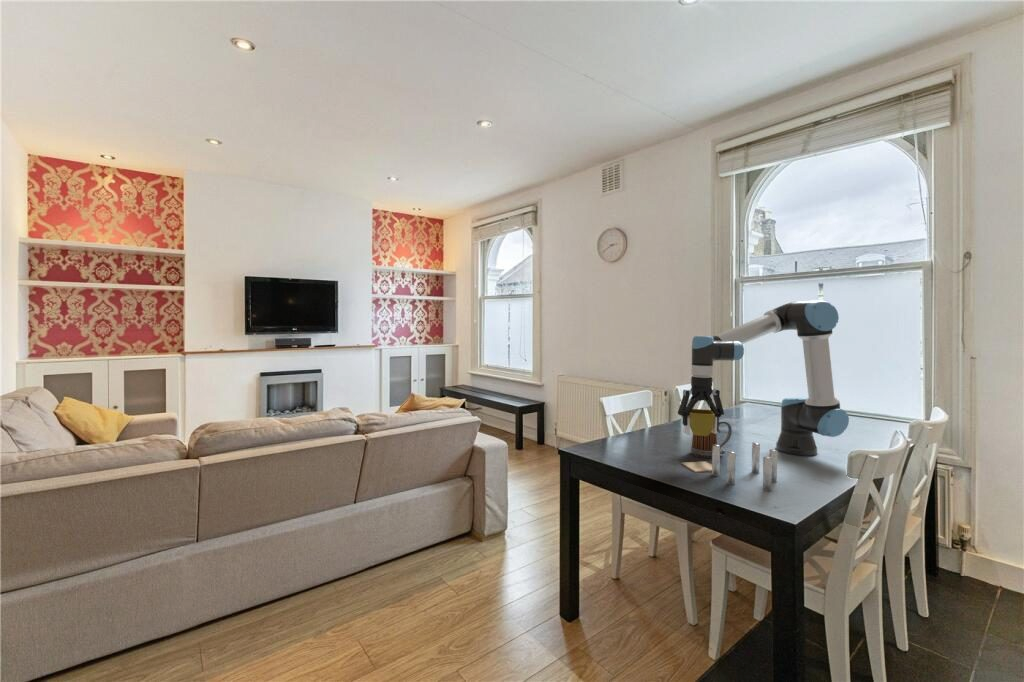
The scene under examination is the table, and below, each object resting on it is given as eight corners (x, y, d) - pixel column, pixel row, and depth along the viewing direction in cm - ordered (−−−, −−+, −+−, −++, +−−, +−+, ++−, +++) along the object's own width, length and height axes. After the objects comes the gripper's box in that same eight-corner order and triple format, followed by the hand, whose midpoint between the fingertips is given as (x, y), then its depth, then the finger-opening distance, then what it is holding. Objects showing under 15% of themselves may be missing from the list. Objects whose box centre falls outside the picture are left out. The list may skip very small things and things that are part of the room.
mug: (692, 457, 188) (693, 421, 187) (689, 450, 198) (689, 416, 197) (733, 460, 184) (734, 423, 183) (728, 452, 194) (728, 418, 194)
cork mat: (705, 462, 181) (705, 461, 181) (720, 471, 171) (720, 469, 171) (681, 464, 180) (681, 462, 180) (695, 472, 170) (695, 470, 170)
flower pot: (714, 438, 169) (715, 414, 169) (689, 436, 172) (690, 412, 171) (710, 432, 178) (711, 409, 178) (686, 431, 180) (687, 408, 180)
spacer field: (756, 471, 171) (756, 442, 170) (794, 489, 152) (795, 457, 152) (710, 473, 168) (711, 444, 168) (744, 493, 149) (744, 460, 149)
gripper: (723, 374, 179) (722, 430, 180) (668, 375, 176) (667, 431, 177) (735, 377, 172) (733, 434, 173) (678, 377, 168) (677, 436, 169)
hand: (700, 433), depth 175 cm, fingers closed on flower pot, 10 cm apart
